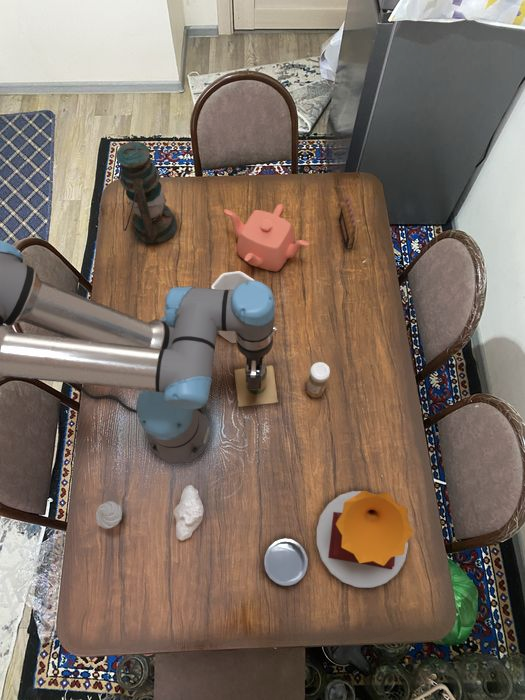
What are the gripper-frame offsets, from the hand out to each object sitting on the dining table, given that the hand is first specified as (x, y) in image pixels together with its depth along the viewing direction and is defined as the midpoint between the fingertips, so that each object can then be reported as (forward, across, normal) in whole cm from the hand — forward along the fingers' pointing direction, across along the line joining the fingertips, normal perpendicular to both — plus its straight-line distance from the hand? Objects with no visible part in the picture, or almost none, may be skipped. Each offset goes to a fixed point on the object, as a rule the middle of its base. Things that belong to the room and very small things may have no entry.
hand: (255, 374), depth 124 cm
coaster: (+8, 0, 0) cm, 8 cm away
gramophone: (+9, -35, -26) cm, 44 cm away
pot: (+8, +40, 0) cm, 41 cm away
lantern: (+8, +47, +33) cm, 58 cm away
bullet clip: (+9, +48, -23) cm, 54 cm away
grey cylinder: (+8, -41, -9) cm, 43 cm away
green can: (+8, 0, 0) cm, 8 cm away
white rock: (+8, -32, +13) cm, 36 cm away
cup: (+8, +17, +6) cm, 20 cm away
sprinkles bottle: (+9, 0, -15) cm, 17 cm away
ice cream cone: (+8, -34, +29) cm, 46 cm away
